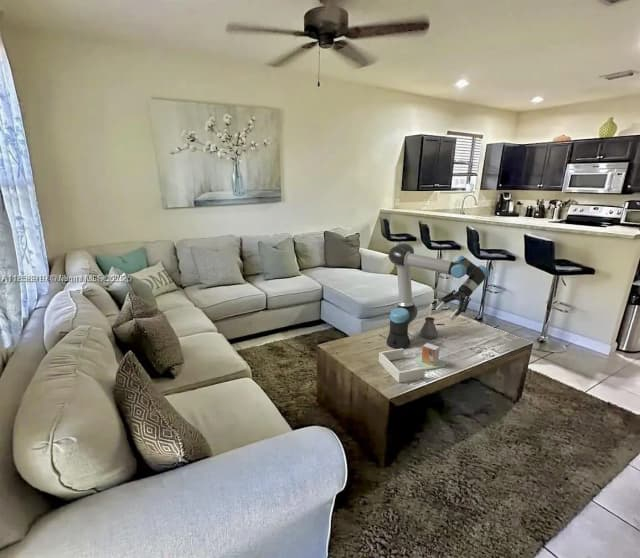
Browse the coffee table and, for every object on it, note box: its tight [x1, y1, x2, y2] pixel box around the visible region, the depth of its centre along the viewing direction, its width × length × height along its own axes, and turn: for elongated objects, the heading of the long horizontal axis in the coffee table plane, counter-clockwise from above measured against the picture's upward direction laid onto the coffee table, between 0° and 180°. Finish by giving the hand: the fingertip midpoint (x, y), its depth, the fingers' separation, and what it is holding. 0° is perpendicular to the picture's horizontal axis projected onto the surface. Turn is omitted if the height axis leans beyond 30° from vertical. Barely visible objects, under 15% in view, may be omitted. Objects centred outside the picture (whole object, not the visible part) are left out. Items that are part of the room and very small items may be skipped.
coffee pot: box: [419, 316, 446, 339], centre depth 239 cm, size 21×12×15 cm, turn 20°
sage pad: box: [413, 357, 447, 372], centre depth 209 cm, size 12×14×1 cm
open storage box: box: [378, 348, 426, 384], centre depth 203 cm, size 24×16×6 cm, turn 17°
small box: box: [421, 342, 441, 366], centre depth 208 cm, size 8×6×10 cm
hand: (443, 314), depth 209 cm, fingers open, 13 cm apart
